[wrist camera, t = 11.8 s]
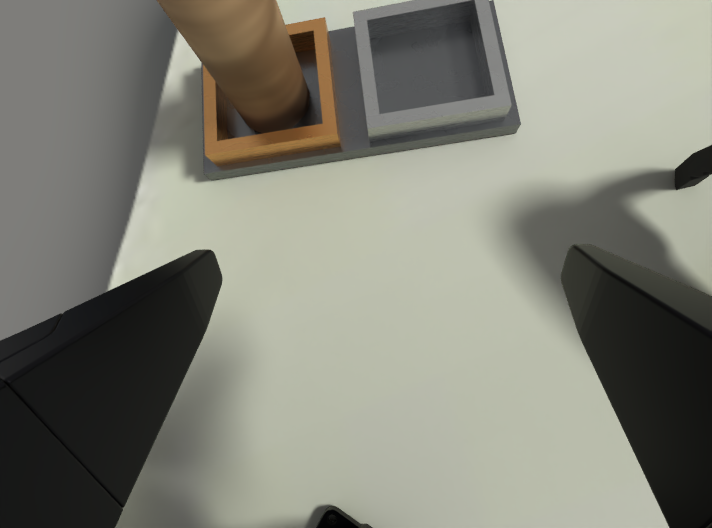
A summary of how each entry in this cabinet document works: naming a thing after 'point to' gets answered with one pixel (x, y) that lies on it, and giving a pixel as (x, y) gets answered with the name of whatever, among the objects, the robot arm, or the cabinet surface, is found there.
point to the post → (246, 57)
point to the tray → (376, 89)
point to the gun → (694, 169)
